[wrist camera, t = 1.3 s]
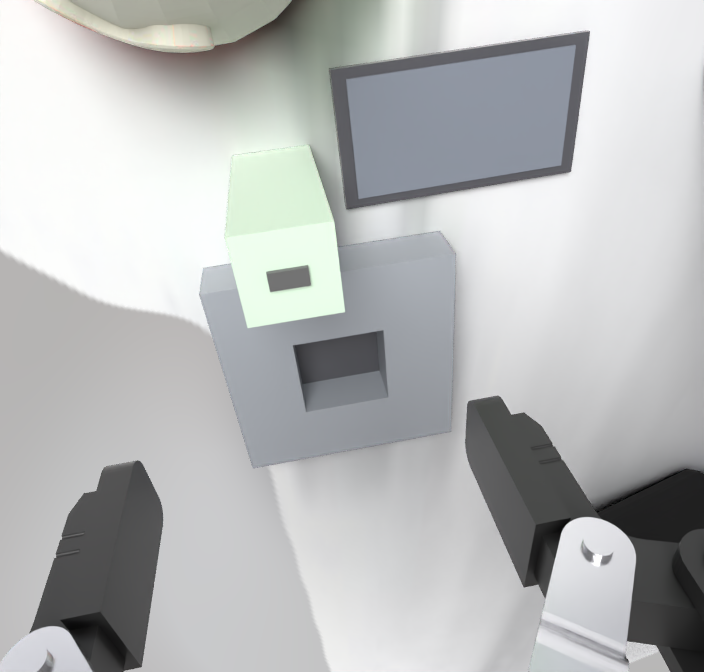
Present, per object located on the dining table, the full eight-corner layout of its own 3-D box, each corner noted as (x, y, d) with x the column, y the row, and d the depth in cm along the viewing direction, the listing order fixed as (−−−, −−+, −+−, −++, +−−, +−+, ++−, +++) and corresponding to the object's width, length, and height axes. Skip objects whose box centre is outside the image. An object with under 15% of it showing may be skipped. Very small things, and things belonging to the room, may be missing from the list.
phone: (327, 66, 26) (330, 70, 25) (579, 29, 27) (590, 31, 26) (344, 202, 30) (347, 209, 29) (562, 166, 31) (571, 172, 30)
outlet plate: (439, 231, 31) (456, 253, 29) (438, 402, 40) (451, 431, 37) (203, 268, 30) (199, 294, 28) (252, 436, 39) (252, 468, 36)
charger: (309, 144, 27) (335, 223, 19) (319, 217, 30) (345, 314, 21) (231, 155, 27) (224, 240, 19) (248, 227, 29) (247, 331, 21)
